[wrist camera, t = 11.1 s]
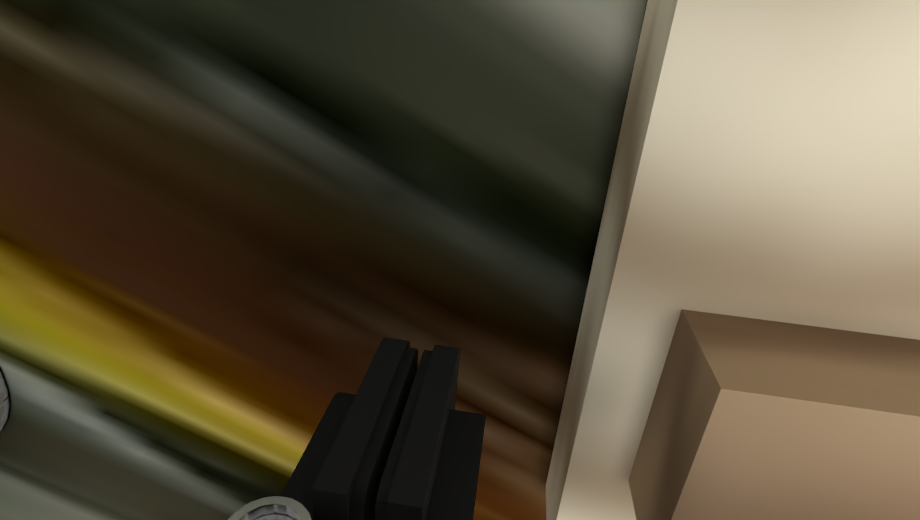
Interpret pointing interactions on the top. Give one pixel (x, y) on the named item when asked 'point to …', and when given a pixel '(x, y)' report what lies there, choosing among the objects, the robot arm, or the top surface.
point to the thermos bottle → (3, 402)
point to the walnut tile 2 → (781, 425)
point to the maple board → (743, 205)
